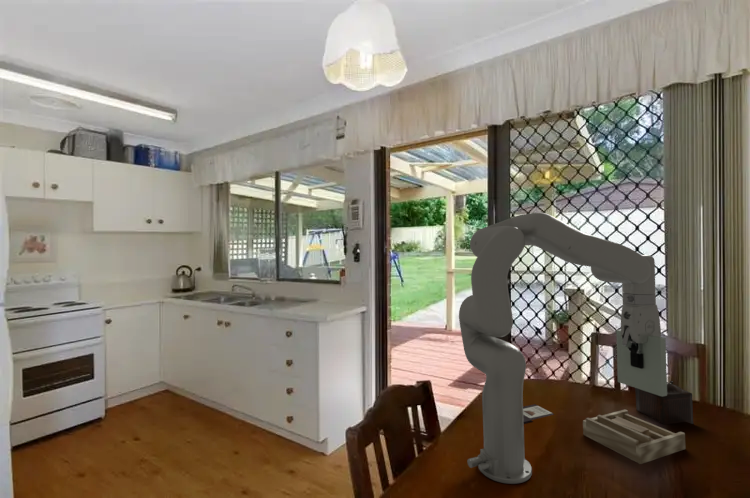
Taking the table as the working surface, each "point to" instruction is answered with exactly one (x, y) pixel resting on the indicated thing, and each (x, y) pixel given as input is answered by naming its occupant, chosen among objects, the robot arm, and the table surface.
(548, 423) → the table surface
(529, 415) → the chocolate bar
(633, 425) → the offcut top
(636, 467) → the table surface
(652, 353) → the sheet
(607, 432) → the rack
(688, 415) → the dark brown coffee grinder
